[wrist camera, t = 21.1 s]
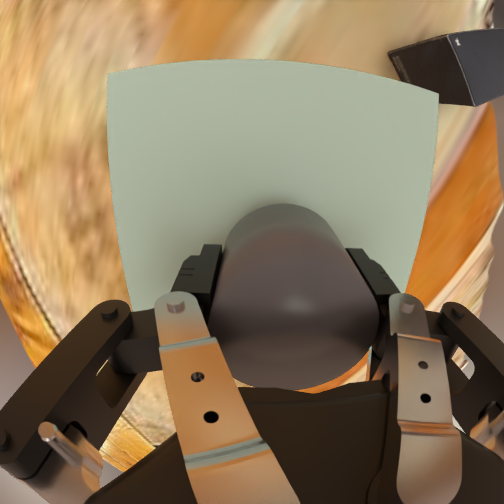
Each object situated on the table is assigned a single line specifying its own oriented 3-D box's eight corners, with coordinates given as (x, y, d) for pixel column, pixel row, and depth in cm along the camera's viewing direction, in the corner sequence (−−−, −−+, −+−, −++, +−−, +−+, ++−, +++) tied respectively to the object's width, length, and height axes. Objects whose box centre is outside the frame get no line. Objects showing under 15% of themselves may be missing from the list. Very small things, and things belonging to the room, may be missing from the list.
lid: (115, 76, 12) (107, 73, 11) (429, 94, 12) (438, 93, 11) (146, 337, 20) (142, 346, 19) (379, 340, 20) (383, 348, 19)
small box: (411, 107, 23) (475, 111, 13) (385, 52, 20) (443, 31, 11) (469, 85, 20) (531, 89, 11) (448, 36, 18) (507, 24, 9)
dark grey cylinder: (221, 201, 11) (200, 261, 7) (346, 207, 11) (399, 265, 7) (224, 305, 14) (212, 389, 9) (328, 307, 14) (354, 386, 9)
